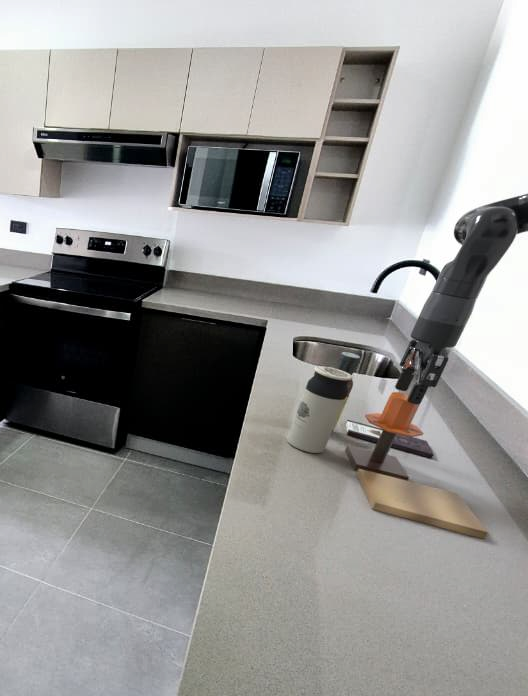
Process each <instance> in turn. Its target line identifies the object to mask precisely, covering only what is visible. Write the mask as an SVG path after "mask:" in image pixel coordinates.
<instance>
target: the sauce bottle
mask: <svg viewBox="0 0 528 696" xmlns="http://www.w3.org/2000/svg"><path fill="white" fill-rule="evenodd" d="M360 360H361V356H360V355H358V354H356V353H352V352H347V351H342V352H341V353H340V355H339V357H338V362H337V364H336V366H335V369H338V370H341V371H344V372H346V373H348V374H350V375H351V376H352V375H353V374H354V371H355V370H356V369H355V368H356V366H357V364H358V363H359V361H360ZM352 377H353V376H352ZM353 386H354V381H353V378H352V379H351V380H350V381H349V382H348V384H347V388H348V393H347V396H346V398H345V401H344V403H343V406H342V408H341V410H340V413H339V415H338V418H337V420H336V423H335V425H334V428H333V430H332V432H331V434H332V433H334V430H335V429H336V427H337V425H338V422H339V420H340V418H341V416H342V414H343V411H344V409H345V407H346V405H347V402H348V400H349V398H350V395H351V392H352V389H353V388H354V387H353Z"/></svg>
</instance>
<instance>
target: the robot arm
mask: <svg viewBox="0 0 528 696" xmlns="http://www.w3.org/2000/svg"><path fill="white" fill-rule="evenodd" d="M526 232H528V193H524V194H520V195H517V196H513V197H509V198H505V199H502V200H498V201H495V202H494V201H493V202H490V203H487V204H484V205H480V206H478V207H475V208H473V209H471V210H469V211H467V212H465V213H464V214H463V215H462V216H461V217H460V218H458V220H457V222H456V223H455V226H454V228H453V237H454V239H455V241H456V242H457V243H458V244H459V245H461V247H460V248H459V250H458V252H457V254H456V255H455V257H454V259H453V260H450V261H449V262H447V263H446V264H444V266H443V267H442V269H441V271H440V272H439V274H438V277H437V279H436V281H435V283H434V285H433V288H432V290H431V292H430V293H429V295H428V297H427V298H426V300H425V303H424V304H423V306H422V309H421V311H420V313H419V315H418V317H417V320H416V322H415V324H414V326H413V328H412V331H411V333H410V337H411V340H410V341H409V343H408V345H407V348H406V349H405V352H404V354H403V356H402V358H401V360H400V362H399V367H400V374H399V376H398V379H397V381H396V383H395V386H394V388H395V390H397V391H402V392H407V391H408V390H409V387H410V385H411V383H412V381H413V379H414V377H415V381H414V384H413V386H412V388H411V390H410V392H409V394H408V395H409V396H408V399H407V401H408V402H409V403H413V404H417V405H418V404H420V405H421V403H422V401H423V400H424V398H425V395H426V393H427V391H428V389H429V388H431V387H432V388H436V387H437V385H438V383H439V381H440V379H441V376H442V374H443V372H444V370H445V368H446V366H447V364H448V362H449V356H445V355H442V354H443V350H444V349H446V348H447V349H451V348H455V347H456V346H457V345H458V343H459V341H460V338H461V336H462V334H463V332H464V330H465V328H466V326H467V324H468V322H469V320H470V318H471V316H472V314H473V311H474V308H475V306H476V302H477V299H478V297H479V296H480V294H481V291H482V289H483V288H484V285H485V283H486V281H487V278H488V277H489V275H490V273H492V271H493V270H494V269H495V267H497V265H498V264H499V263H500V262H501V260H502V258H503V257H504V255H505V254H506V253H507V252H508V250H509V249H510V247H511V246H512V245H513V243H514V241H515V239H516V237H517V235H520V234H523V233H526Z"/></svg>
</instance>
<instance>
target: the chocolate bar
mask: <svg viewBox="0 0 528 696" xmlns="http://www.w3.org/2000/svg"><path fill="white" fill-rule="evenodd" d="M345 428H346V433H347V434H346V435H347V436H350V437H353V438H358V439H361V440H365V441H369V442H372V443H375V444H377V442H378V439H379V437H380V435H381V433H382V431H383V429H381V428H379V427H377V426H374V425H369V424H366V423H361V422H358V421H354V420H351V419H346V421H345ZM391 448H393V449H397V450H401V451H405V452H408V453H411V454H416V455H418V456H422V457H426V458H429V459H433V457H434V452H433V450H432V448H431V446H430V444H429V443H428V440H424V439H421V438H418V437H408V436H404V435H400V434H397V435H396V437H395V439H394V441H393V443H392V446H391Z"/></svg>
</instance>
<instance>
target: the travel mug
mask: <svg viewBox="0 0 528 696" xmlns="http://www.w3.org/2000/svg"><path fill="white" fill-rule="evenodd" d="M335 368H336V367H335ZM335 368H334V367H331V366H323V365H318V366H314V368H313V370H314V373H313V376H312V377H311V378H310V379H309V380H308V381H307V383H306V386H305V388H304V392H303V394H302V397H301V400H300V402H299V405H298V408H297V410H296V412H295V416H294V418H293V421H292V424H291V427H290V428H289V432H288V435H287V437H286V440H287V441H286V442H288V443H289V444H290V445H291V446H292V447H294V448H296V449H297V450H300V451H302V452H305V453H310V454H321V453H323V452H324V451H325V449H326V447H327V446H328V445H327V444H328V443H329V439H330V437H331V435H332V433H333V432H332V430H333V428H334V425H335V423H336V420H337V418H338V415H339V413H340V410H341V408H342V406H343V403H344V401H345V398H346V396H347V393H348V388H347V384H348V382H349V381H350V380H351V379H352V380H353V376H351V375H350V374H348V373H346V372H344V371H341V370H338V369H335ZM334 429H335V428H334ZM333 431H334V430H333ZM331 432H332V433H331Z"/></svg>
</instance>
